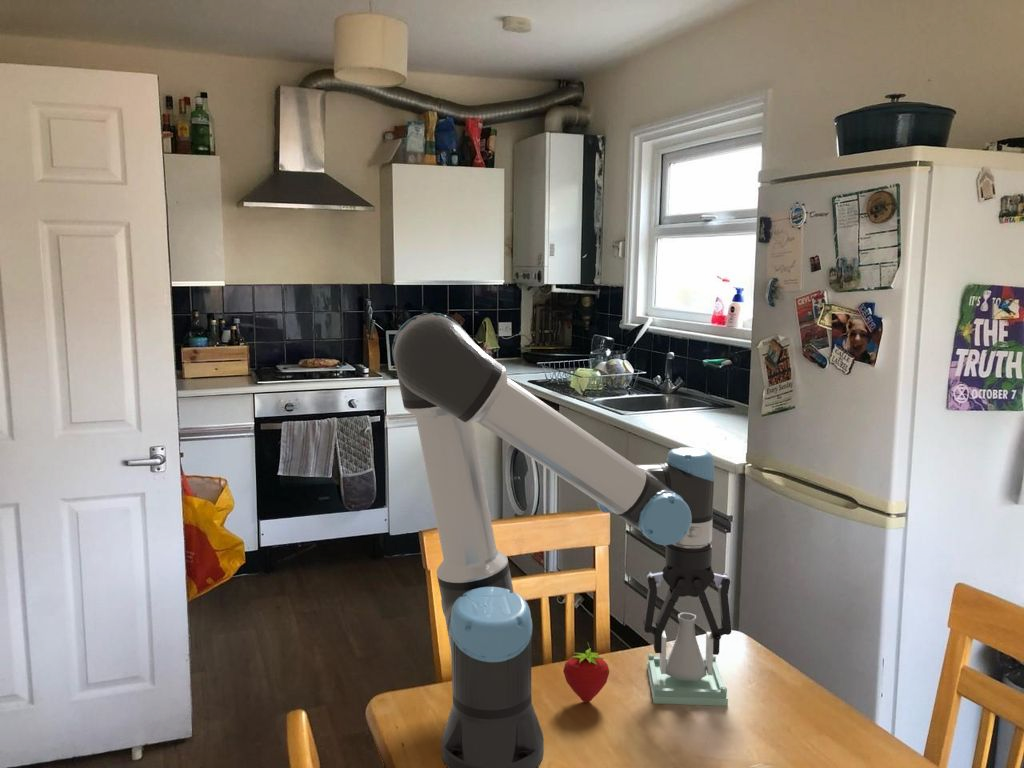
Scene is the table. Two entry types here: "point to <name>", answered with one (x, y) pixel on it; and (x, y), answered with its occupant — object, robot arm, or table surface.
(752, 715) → the table surface
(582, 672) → the strawberry
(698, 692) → the base board
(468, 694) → the robot arm
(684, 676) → the flask
